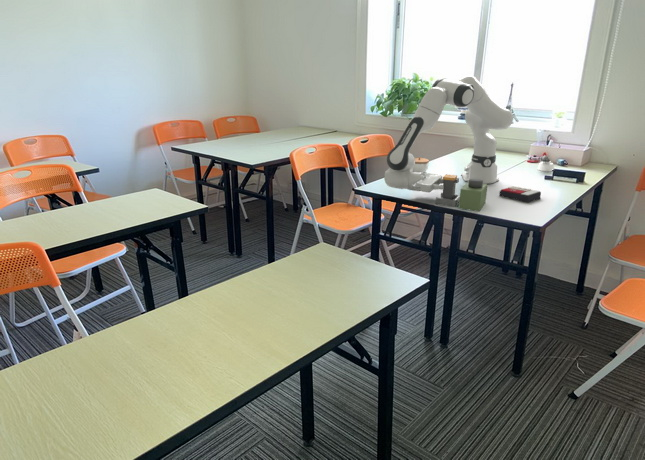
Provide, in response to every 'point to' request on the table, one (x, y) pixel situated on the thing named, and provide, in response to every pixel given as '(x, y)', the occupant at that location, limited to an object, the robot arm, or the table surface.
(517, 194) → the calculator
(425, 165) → the lidded jar
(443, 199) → the bracket
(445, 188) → the grey orange-topped box
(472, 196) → the green box
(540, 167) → the inkwell
